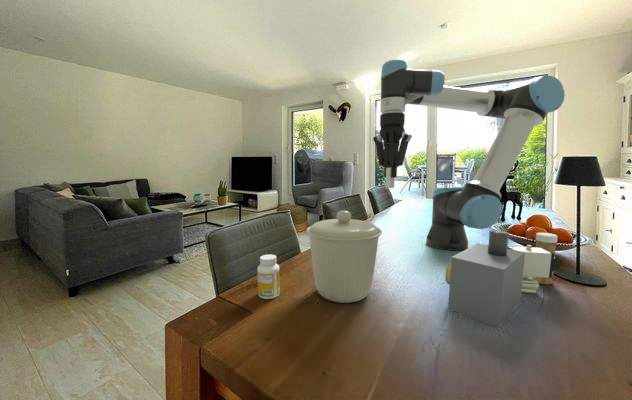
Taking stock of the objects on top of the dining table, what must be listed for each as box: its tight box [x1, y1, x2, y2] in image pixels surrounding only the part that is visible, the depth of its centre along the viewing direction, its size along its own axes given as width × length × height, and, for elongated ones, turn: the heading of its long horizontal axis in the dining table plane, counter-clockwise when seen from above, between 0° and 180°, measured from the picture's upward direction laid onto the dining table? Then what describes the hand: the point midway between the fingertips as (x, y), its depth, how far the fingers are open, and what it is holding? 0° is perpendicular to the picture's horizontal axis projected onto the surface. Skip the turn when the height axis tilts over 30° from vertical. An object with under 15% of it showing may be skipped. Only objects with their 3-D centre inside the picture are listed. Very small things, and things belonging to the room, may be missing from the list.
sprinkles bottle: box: [532, 232, 558, 285], centre depth 78 cm, size 5×5×14 cm
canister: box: [306, 210, 383, 304], centre depth 70 cm, size 18×18×21 cm
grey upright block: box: [487, 229, 509, 256], centre depth 65 cm, size 4×4×5 cm
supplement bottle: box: [256, 254, 281, 300], centre depth 70 cm, size 5×5×10 cm
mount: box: [447, 243, 525, 328], centre depth 65 cm, size 10×16×12 cm, turn 132°
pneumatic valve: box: [507, 244, 560, 294], centre depth 73 cm, size 6×12×12 cm, turn 78°
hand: (389, 187), depth 94 cm, fingers closed
